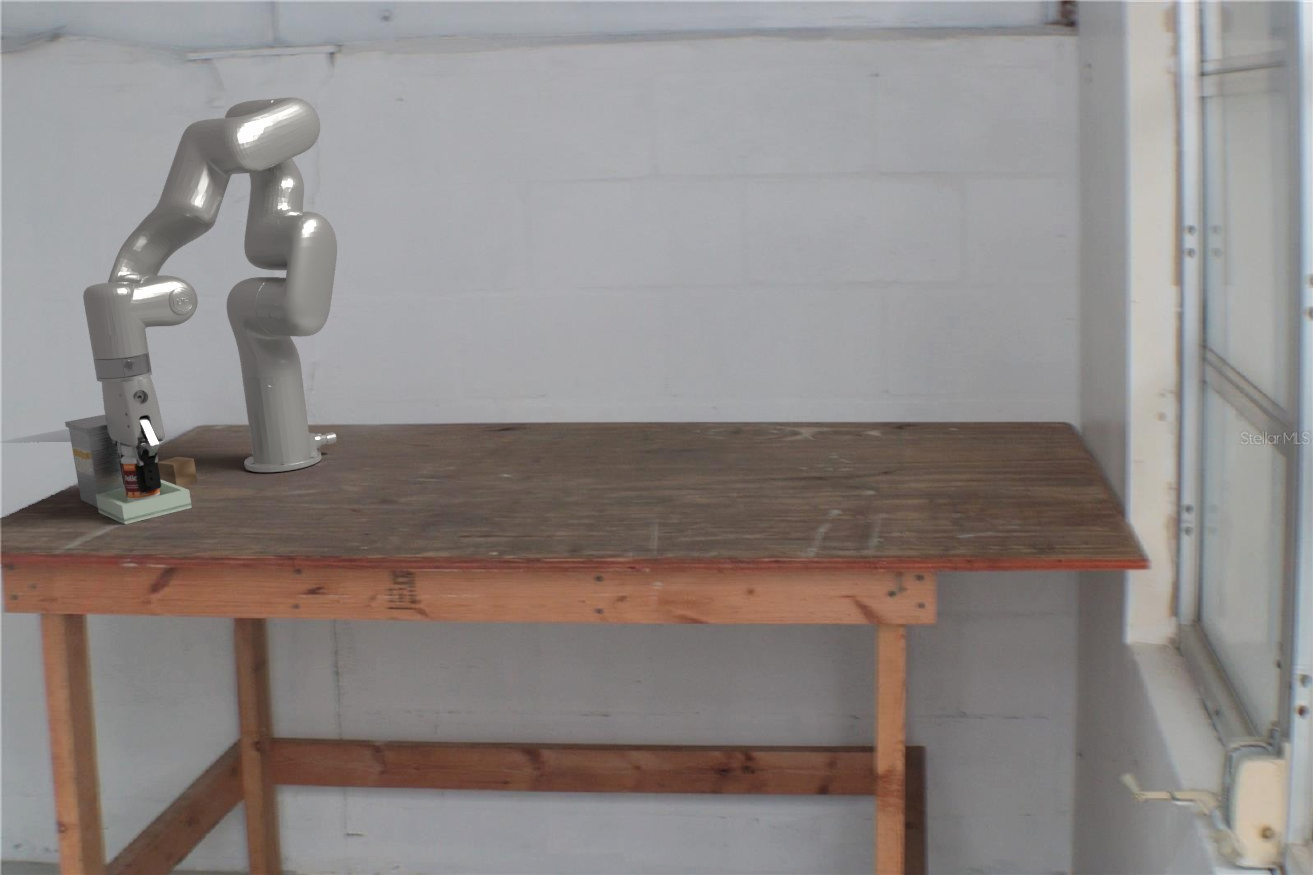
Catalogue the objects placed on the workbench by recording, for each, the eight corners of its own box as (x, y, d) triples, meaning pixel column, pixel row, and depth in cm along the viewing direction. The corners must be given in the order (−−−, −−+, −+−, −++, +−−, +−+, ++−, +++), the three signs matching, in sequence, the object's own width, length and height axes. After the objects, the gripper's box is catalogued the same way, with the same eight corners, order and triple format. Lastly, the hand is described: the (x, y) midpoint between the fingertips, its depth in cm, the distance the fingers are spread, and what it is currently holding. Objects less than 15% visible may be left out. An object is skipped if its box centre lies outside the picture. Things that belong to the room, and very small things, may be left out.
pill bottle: (124, 503, 180) (115, 448, 178) (129, 495, 184) (120, 441, 182) (158, 499, 181) (150, 444, 179) (162, 491, 185) (153, 438, 183)
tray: (163, 496, 190) (161, 479, 189) (191, 507, 183) (189, 489, 182) (98, 512, 183) (95, 494, 182) (125, 524, 176) (122, 505, 175)
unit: (134, 487, 197) (122, 411, 194) (156, 495, 191) (144, 417, 188) (77, 500, 191) (64, 422, 188) (98, 509, 185) (85, 429, 182)
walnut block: (180, 480, 200) (177, 456, 199) (197, 482, 198) (193, 458, 197) (160, 486, 197) (156, 462, 196) (177, 488, 195) (173, 464, 194)
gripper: (172, 368, 174) (191, 490, 179) (125, 358, 186) (144, 472, 191) (120, 377, 169) (140, 502, 174) (75, 366, 181) (95, 483, 186)
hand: (142, 485), depth 182 cm, fingers open, 5 cm apart
